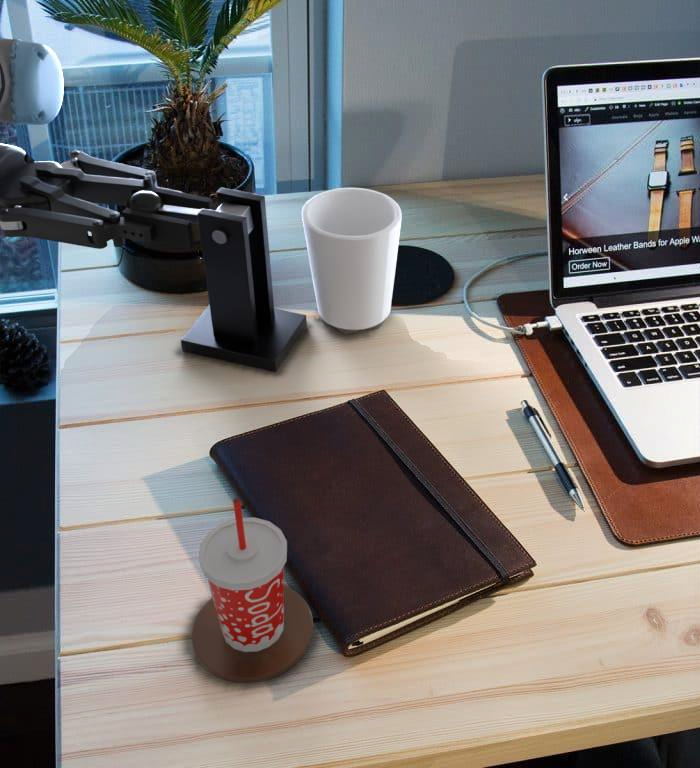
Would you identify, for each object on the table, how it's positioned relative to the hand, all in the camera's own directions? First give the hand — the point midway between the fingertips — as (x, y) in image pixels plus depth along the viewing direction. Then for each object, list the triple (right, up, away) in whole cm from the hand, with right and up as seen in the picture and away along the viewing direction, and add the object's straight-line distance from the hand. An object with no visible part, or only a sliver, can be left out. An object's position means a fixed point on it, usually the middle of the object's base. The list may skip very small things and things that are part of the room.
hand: (201, 223), depth 99 cm
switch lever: (-1, -1, +1) cm, 2 cm away
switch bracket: (+2, -11, +8) cm, 13 cm away
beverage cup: (+10, -34, -19) cm, 40 cm away
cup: (+13, -8, +12) cm, 20 cm away
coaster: (+10, -34, -19) cm, 40 cm away
